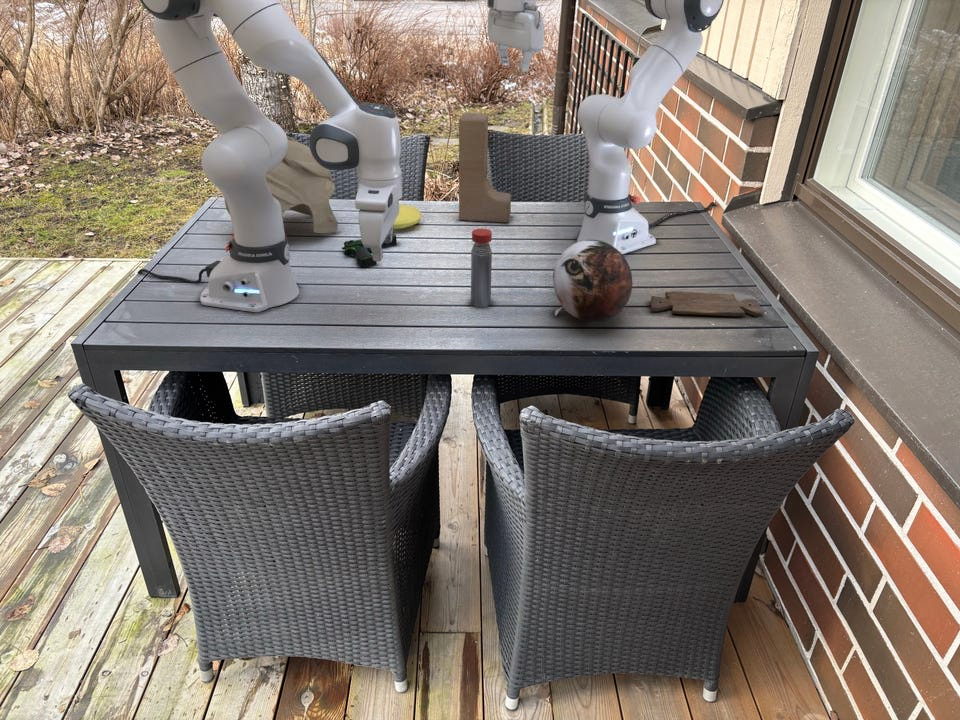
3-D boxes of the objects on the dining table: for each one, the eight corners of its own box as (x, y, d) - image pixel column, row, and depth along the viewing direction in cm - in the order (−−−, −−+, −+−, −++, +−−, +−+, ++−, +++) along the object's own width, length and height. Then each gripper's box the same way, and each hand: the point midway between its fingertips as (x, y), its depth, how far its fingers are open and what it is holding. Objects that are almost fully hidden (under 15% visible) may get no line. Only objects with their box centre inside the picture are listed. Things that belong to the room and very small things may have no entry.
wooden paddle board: (645, 296, 172) (651, 316, 164) (646, 290, 171) (652, 309, 163) (754, 299, 171) (766, 319, 163) (755, 293, 170) (767, 312, 162)
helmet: (351, 239, 203) (345, 131, 188) (249, 258, 188) (233, 142, 173) (313, 212, 222) (305, 112, 207) (217, 227, 207) (201, 120, 192)
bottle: (492, 300, 169) (494, 231, 161) (488, 308, 166) (489, 238, 157) (473, 298, 170) (474, 229, 161) (468, 306, 166) (469, 236, 158)
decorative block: (508, 223, 214) (511, 120, 199) (458, 220, 216) (458, 118, 200) (510, 215, 220) (514, 114, 205) (462, 212, 222) (462, 112, 207)
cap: (493, 237, 161) (493, 229, 160) (489, 244, 158) (489, 236, 157) (474, 235, 162) (474, 227, 161) (469, 242, 158) (469, 234, 157)
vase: (376, 214, 219) (375, 191, 216) (426, 217, 218) (426, 194, 214) (362, 232, 206) (360, 208, 202) (415, 235, 204) (415, 212, 201)
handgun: (354, 259, 182) (336, 238, 193) (354, 270, 184) (336, 248, 195) (413, 250, 189) (392, 230, 200) (413, 260, 190) (392, 240, 201)
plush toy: (529, 271, 171) (588, 211, 162) (582, 317, 175) (643, 261, 167) (526, 311, 151) (593, 245, 143) (586, 361, 156) (655, 300, 148)
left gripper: (376, 171, 154) (379, 231, 162) (352, 203, 137) (356, 269, 144) (405, 173, 154) (406, 233, 161) (384, 206, 137) (387, 272, 144)
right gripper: (553, 5, 152) (549, 74, 159) (507, -2, 167) (505, 61, 174) (527, 5, 149) (524, 76, 156) (483, -2, 165) (482, 62, 172)
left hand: (382, 250), depth 153 cm, fingers open, 8 cm apart
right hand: (513, 68), depth 165 cm, fingers open, 8 cm apart
